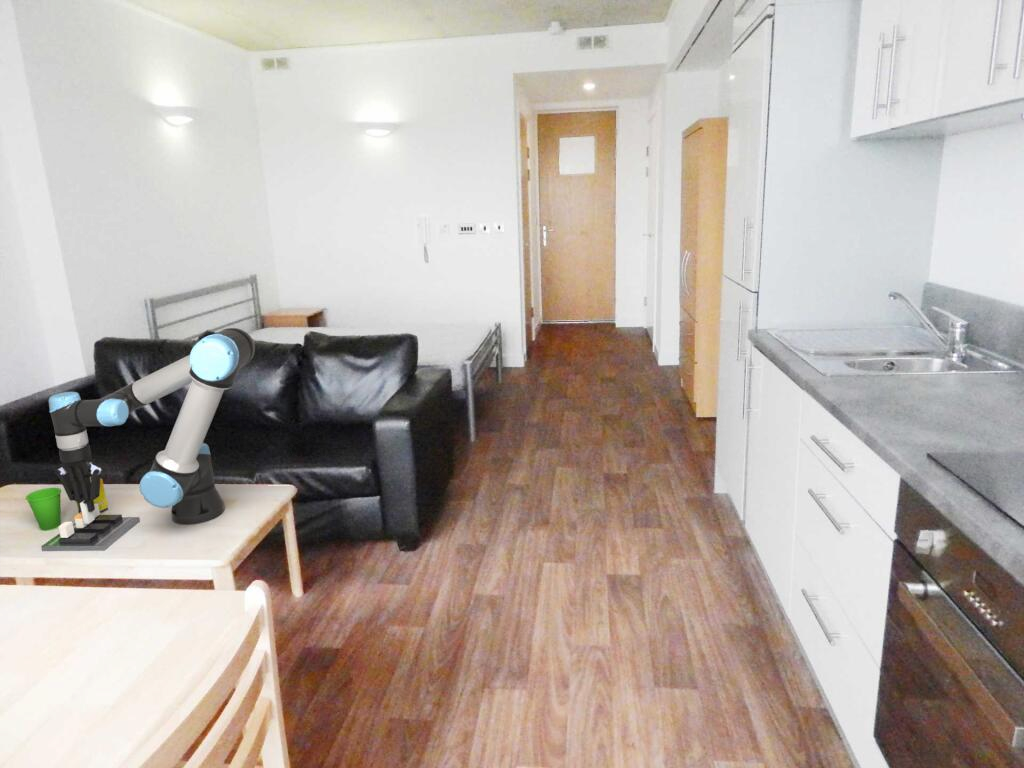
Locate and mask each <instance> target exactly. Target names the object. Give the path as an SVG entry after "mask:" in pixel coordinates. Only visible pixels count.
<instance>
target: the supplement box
mask: <svg viewBox="0 0 1024 768" xmlns="http://www.w3.org/2000/svg"><path fill="white" fill-rule="evenodd" d="M90 481H91V476H90ZM93 501H94V504H98V507H99V512H100V514H102V513H104V512H106V511H108V510H109V507H108V503H107V497H106V492H105V487H104V481H103V478H100V494H99V497H98V498H96V499H95V500H93ZM76 507H77V512H78V514H79V513H80V511H79V507H78V503H77V502H76Z"/></svg>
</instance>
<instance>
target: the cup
mask: <svg viewBox="0 0 1024 768" xmlns="http://www.w3.org/2000/svg"><path fill="white" fill-rule="evenodd" d="M61 493H62V489H61V488H58V487H47V488H41V489H39V490H35V491H32V492H30V493H28V494H26V496H25V500H26V501H27V503H28V504H29V507H30V509H31V511H32V514H33V516H34V517H35V519H36V522H37V525H38V526H39V528H40V530H41V531H44V532H45V531H52V530H55V529H57V528H59V526H60V525H61V524H62V521H61V520H62V519H61V515H62V514H61V513H62V511H61Z"/></svg>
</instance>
